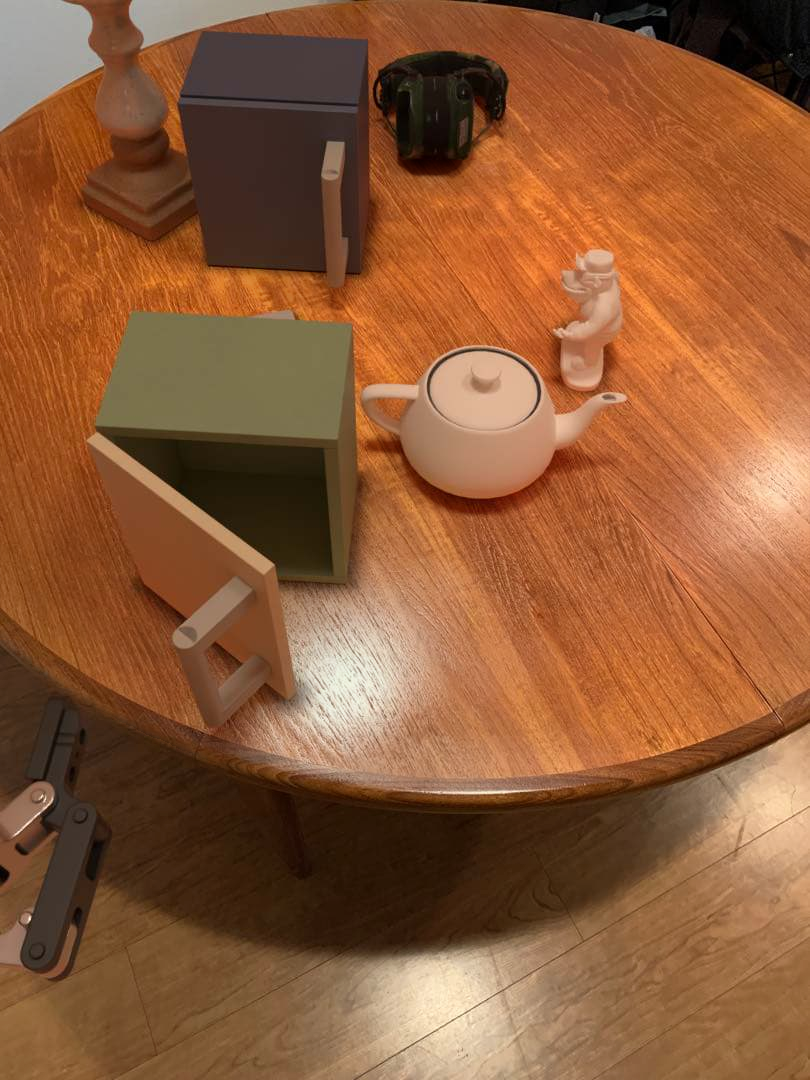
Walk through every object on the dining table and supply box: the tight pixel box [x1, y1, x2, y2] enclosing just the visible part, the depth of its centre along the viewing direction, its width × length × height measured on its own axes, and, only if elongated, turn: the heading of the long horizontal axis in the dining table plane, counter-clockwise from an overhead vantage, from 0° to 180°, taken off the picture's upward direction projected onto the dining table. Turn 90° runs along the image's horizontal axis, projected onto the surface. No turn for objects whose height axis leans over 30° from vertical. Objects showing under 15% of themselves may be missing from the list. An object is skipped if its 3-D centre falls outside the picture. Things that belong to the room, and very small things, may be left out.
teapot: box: [359, 344, 628, 499], centre depth 79 cm, size 22×14×11 cm, turn 86°
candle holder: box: [61, 0, 198, 242], centre depth 93 cm, size 11×11×24 cm
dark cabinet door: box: [176, 96, 362, 289], centre depth 88 cm, size 7×16×18 cm, turn 87°
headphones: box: [372, 50, 510, 161], centre depth 108 cm, size 13×13×20 cm
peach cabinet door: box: [85, 431, 298, 729], centre depth 63 cm, size 7×16×18 cm, turn 51°
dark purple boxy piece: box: [179, 30, 371, 267], centre depth 93 cm, size 11×16×18 cm
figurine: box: [552, 248, 624, 392], centre depth 85 cm, size 9×7×12 cm
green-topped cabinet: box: [93, 310, 359, 585], centre depth 71 cm, size 11×16×18 cm
